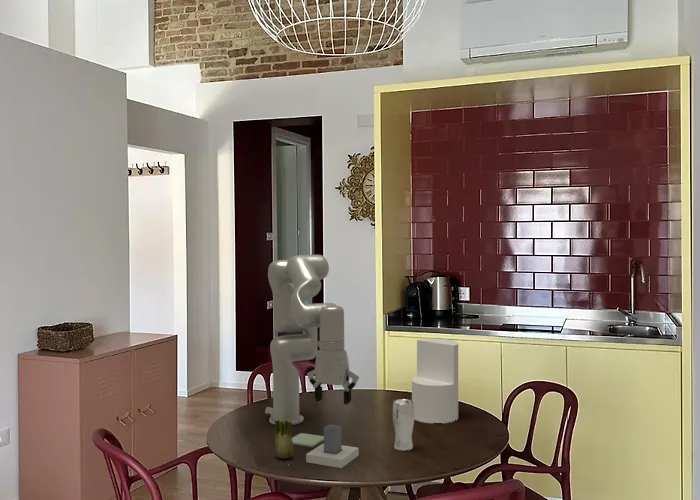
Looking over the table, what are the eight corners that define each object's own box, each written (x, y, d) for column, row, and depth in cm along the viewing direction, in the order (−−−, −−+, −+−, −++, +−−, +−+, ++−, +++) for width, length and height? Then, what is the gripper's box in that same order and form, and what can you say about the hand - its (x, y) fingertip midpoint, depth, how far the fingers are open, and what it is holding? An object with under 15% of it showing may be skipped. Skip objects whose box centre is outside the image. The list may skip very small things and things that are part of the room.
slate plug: (324, 460, 206) (323, 427, 205) (330, 456, 209) (329, 424, 209) (335, 462, 204) (335, 429, 204) (341, 457, 208) (341, 425, 207)
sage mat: (285, 443, 222) (285, 441, 222) (300, 434, 231) (300, 433, 231) (312, 447, 218) (312, 445, 218) (326, 438, 227) (326, 436, 227)
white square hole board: (306, 462, 204) (306, 454, 204) (324, 450, 215) (324, 442, 215) (341, 468, 199) (341, 459, 199) (358, 455, 209) (358, 447, 209)
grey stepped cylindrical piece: (431, 408, 264) (430, 337, 263) (467, 416, 252) (467, 342, 251) (402, 417, 252) (402, 342, 251) (439, 426, 240) (439, 348, 239)
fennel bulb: (272, 457, 209) (272, 418, 208) (286, 453, 212) (285, 416, 211) (282, 462, 204) (282, 423, 204) (296, 458, 207) (296, 420, 207)
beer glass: (400, 452, 212) (399, 405, 212) (388, 446, 218) (388, 400, 218) (418, 449, 215) (418, 402, 215) (406, 443, 222) (406, 397, 221)
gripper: (301, 346, 206) (302, 402, 206) (352, 349, 198) (353, 407, 199) (313, 342, 213) (314, 396, 213) (362, 346, 205) (363, 401, 205)
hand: (332, 401), depth 206 cm, fingers open, 9 cm apart
